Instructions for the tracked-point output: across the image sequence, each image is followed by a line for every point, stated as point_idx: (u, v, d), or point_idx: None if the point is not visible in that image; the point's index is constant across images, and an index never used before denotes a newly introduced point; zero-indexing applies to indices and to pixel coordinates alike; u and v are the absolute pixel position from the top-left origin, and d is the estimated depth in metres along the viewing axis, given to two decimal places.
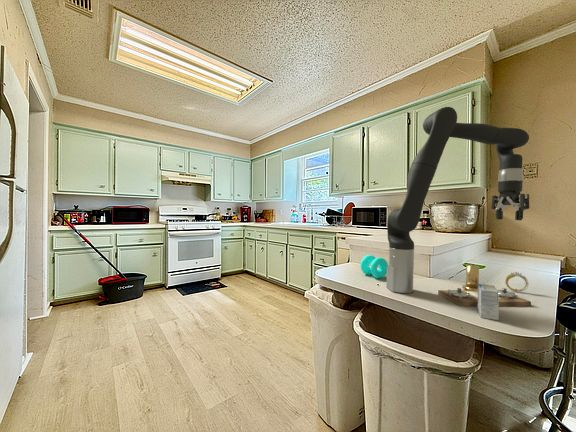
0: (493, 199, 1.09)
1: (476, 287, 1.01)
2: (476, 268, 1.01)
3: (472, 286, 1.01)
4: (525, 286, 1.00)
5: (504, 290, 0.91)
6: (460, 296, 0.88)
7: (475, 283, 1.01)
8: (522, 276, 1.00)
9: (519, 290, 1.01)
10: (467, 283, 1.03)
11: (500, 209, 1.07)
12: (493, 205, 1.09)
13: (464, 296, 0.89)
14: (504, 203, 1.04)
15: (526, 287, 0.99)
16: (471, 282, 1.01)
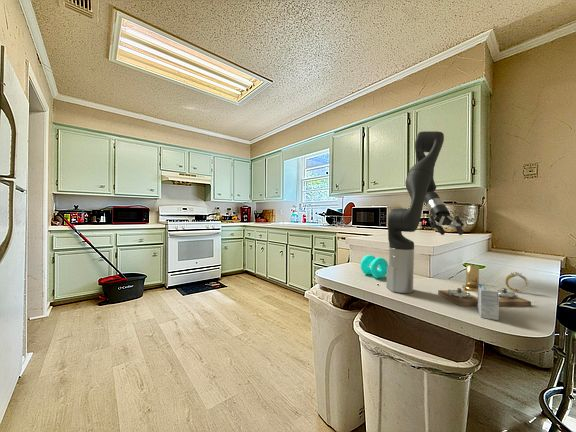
0: (432, 218, 1.20)
1: (476, 287, 1.01)
2: (476, 268, 1.01)
3: (472, 286, 1.01)
4: (525, 286, 1.00)
5: (504, 290, 0.91)
6: (460, 296, 0.88)
7: (475, 283, 1.01)
8: (522, 276, 1.00)
9: (519, 290, 1.01)
10: (467, 283, 1.03)
11: None
12: (435, 222, 1.18)
13: (464, 296, 0.89)
14: (445, 221, 1.19)
15: (526, 287, 0.99)
16: (471, 282, 1.01)
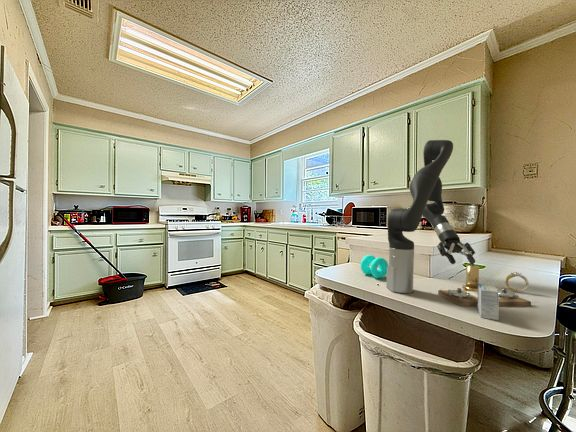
0: (442, 245, 1.12)
1: (476, 287, 1.01)
2: (476, 268, 1.01)
3: (472, 286, 1.01)
4: (525, 286, 1.00)
5: (504, 290, 0.91)
6: (460, 296, 0.88)
7: (475, 283, 1.01)
8: (522, 276, 1.00)
9: (519, 290, 1.01)
10: (467, 283, 1.03)
11: None
12: (444, 250, 1.11)
13: (464, 296, 0.89)
14: (455, 249, 1.11)
15: (526, 287, 0.99)
16: (471, 282, 1.01)
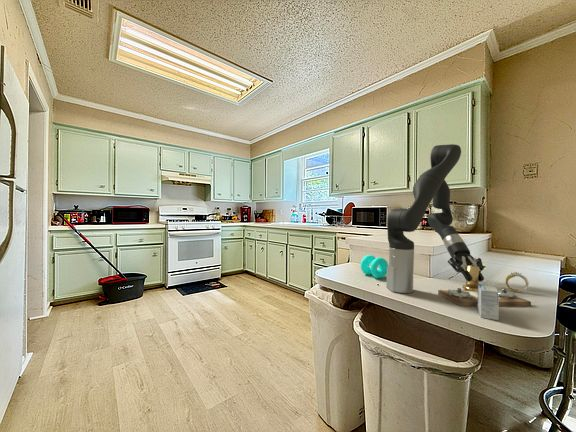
0: (454, 260, 1.06)
1: (476, 287, 1.01)
2: (476, 268, 1.01)
3: (472, 286, 1.01)
4: (525, 286, 1.00)
5: (504, 290, 0.91)
6: (460, 296, 0.88)
7: (475, 283, 1.01)
8: (522, 276, 1.00)
9: (519, 290, 1.01)
10: (467, 283, 1.03)
11: None
12: (458, 266, 1.04)
13: (464, 296, 0.89)
14: (466, 262, 1.05)
15: (526, 287, 0.99)
16: (471, 282, 1.01)
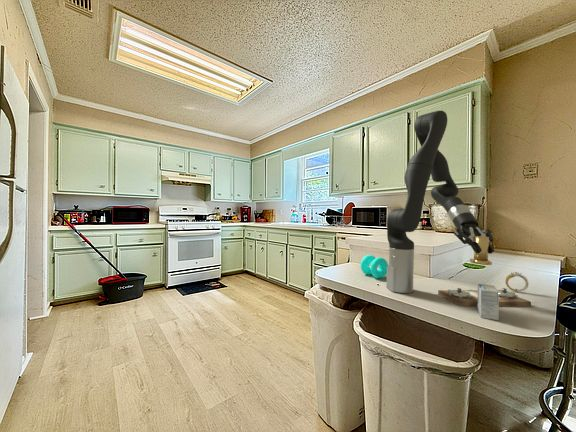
0: (460, 231, 0.95)
1: (485, 259, 0.91)
2: (486, 238, 0.91)
3: (481, 258, 0.91)
4: (525, 286, 1.00)
5: (504, 290, 0.91)
6: (460, 296, 0.88)
7: (484, 255, 0.91)
8: (522, 276, 1.00)
9: (519, 290, 1.01)
10: (475, 255, 0.93)
11: None
12: (466, 237, 0.94)
13: (464, 296, 0.89)
14: (475, 233, 0.95)
15: (526, 287, 0.99)
16: (480, 254, 0.91)
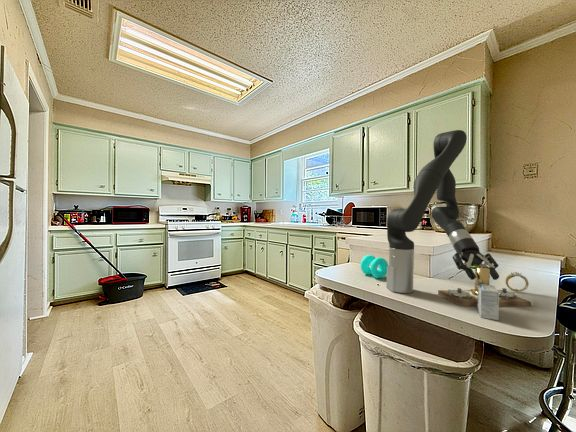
0: (458, 256, 0.95)
1: None
2: (487, 270, 0.89)
3: None
4: (525, 286, 1.00)
5: (504, 290, 0.91)
6: (460, 296, 0.88)
7: None
8: (522, 276, 1.00)
9: (519, 290, 1.01)
10: (476, 287, 0.91)
11: None
12: (462, 262, 0.93)
13: (464, 296, 0.89)
14: (474, 261, 0.94)
15: (526, 287, 0.99)
16: None
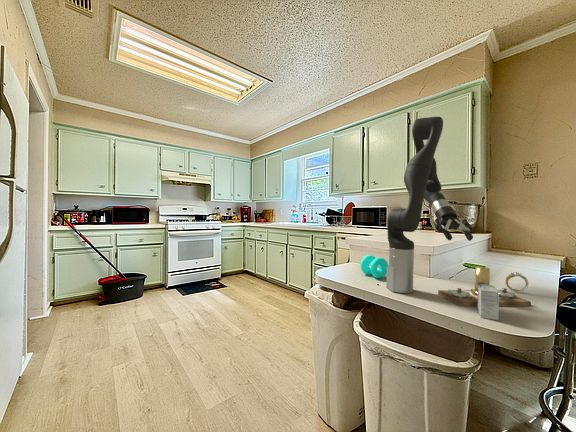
0: (438, 221, 1.07)
1: None
2: (487, 270, 0.89)
3: None
4: (525, 286, 1.00)
5: (504, 290, 0.91)
6: (460, 296, 0.88)
7: None
8: (522, 276, 1.00)
9: (519, 290, 1.01)
10: (476, 287, 0.91)
11: None
12: (440, 226, 1.06)
13: (464, 296, 0.89)
14: (452, 225, 1.06)
15: (526, 287, 0.99)
16: None
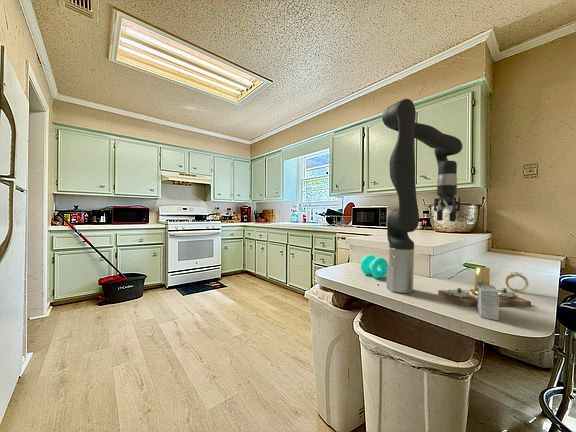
0: (435, 202, 1.18)
1: None
2: (487, 270, 0.89)
3: None
4: (525, 286, 1.00)
5: (504, 290, 0.91)
6: (460, 296, 0.88)
7: None
8: (522, 276, 1.00)
9: (519, 290, 1.01)
10: (476, 287, 0.91)
11: (440, 211, 1.16)
12: (435, 207, 1.18)
13: (464, 296, 0.89)
14: (442, 205, 1.13)
15: (526, 287, 0.99)
16: None
